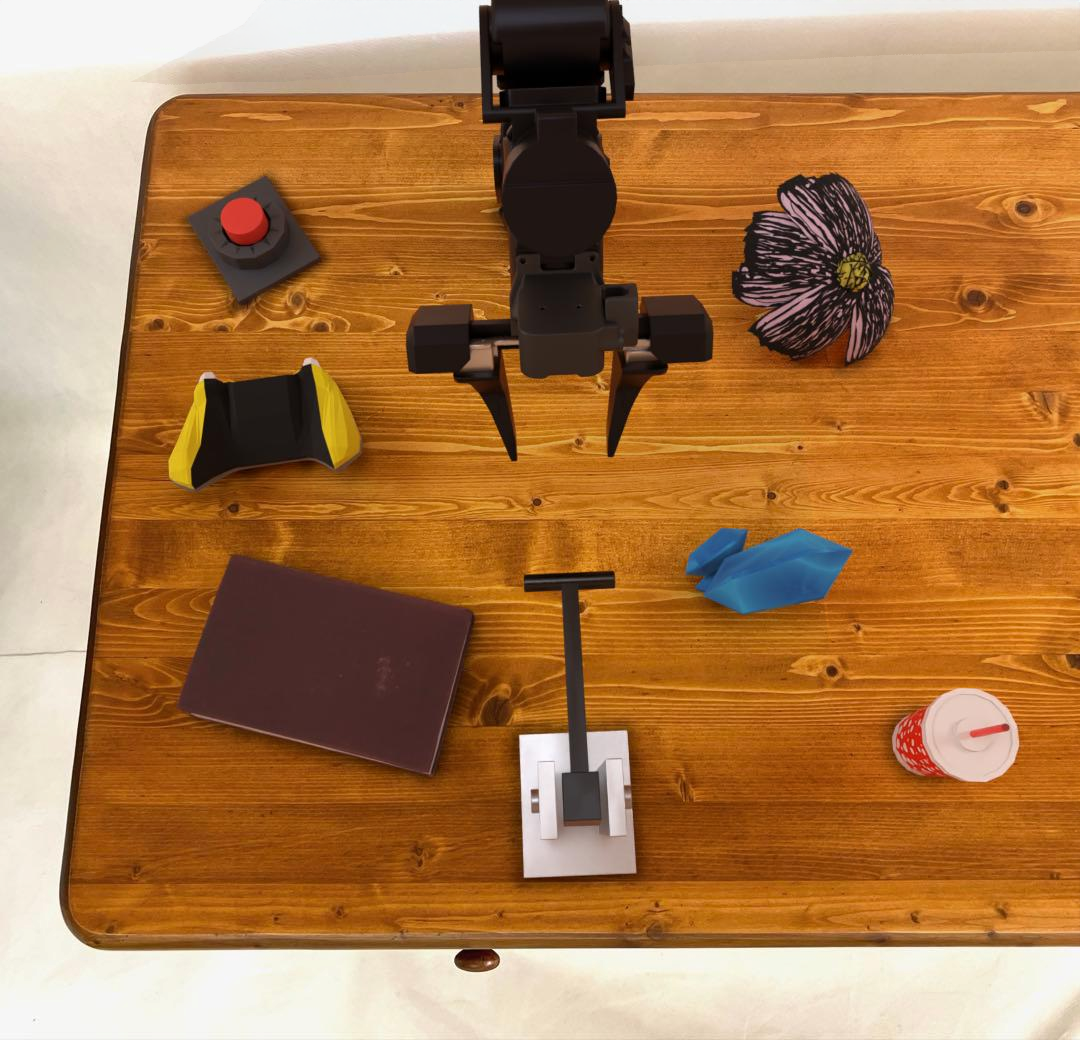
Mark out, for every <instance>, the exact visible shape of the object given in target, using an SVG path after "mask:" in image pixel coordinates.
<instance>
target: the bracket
mask: <svg viewBox="0 0 1080 1040" xmlns="http://www.w3.org/2000/svg"><path fill="white" fill-rule="evenodd" d="M628 735H629V734H628V730H627V729H618V730H617V729H616V730H598V731H597V730H596V731H595V730H592V731H587V747H588V764H589V772H591V771H598V772H599V786H600V802H601V818H602V819H601V823H600V825H595V826H571V827H564V819H563V798H562V773H567V772H570V754H569V734H568V732H546V733H545V732H544V733H526V734H525V733H524V734H522V733H521V734H519V735H518V737H519V742H518V745H519V771H520V772H519V773H520V797H521V798H520V800H521V801H520V802H521V803H520V804H521V828H522V829H521V831H522V832H521V833H522V859H523V860H522V862H523V878H524V879H534V878H535V879H536V878H558V877H581V876H583V877H585V876H586V877H587V876H606V875H609V876H610V875H630V874H632V875H633V874H637V859H636V847H635V846H636V845H635V830H634V829H635V828H634V813H633V793H632V784H631V783H632V782H631V767H630V766H631V765H630V753H629V751H630V750H629V736H628Z"/></svg>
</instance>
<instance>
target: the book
mask: <svg viewBox="0 0 1080 1040" xmlns="http://www.w3.org/2000/svg"><path fill="white" fill-rule="evenodd" d="M475 618H476V617H475V613H474V611H473V610H471V609H469V608H466V607H461V606H457V605H454V604H453V605H452V604H447V603H445V602H439V601H436V600H432V599H427V598H422V597H417V596H413V595H408V594H404V593H400V592H395V591H391V590H386V589H381V588H378V587H374V586H370V585H366V584H361V583H357V582H353V581H348V580H344V579H341V578H335V577H331V576H328V575H323V574H319V573H316V572H315V573H314V572H310V571H306V570H302V569H299V568H294V567H290V566H285V565H283V564H282V565H281V564H278V563H273V562H271V561H270V562H269V561H265V560H261V559H257V558H253V557H249V556H245V555H241V554H238V553H237V554H236V553H232V555H230V558H229V560H228V563H227V566H226V568H225V570H224V573H223V575H222V579H221V581H220V583H219V587H218V589H217V592H216V594H215V597H214V599H213V602H212V604H211V608H210V610H209V612H208V615H207V618H206V621H205V624H204V626H203V630H202V632H201V635H200V637H199V641H198V643H197V644H196V648H195V651H194V654H193V656H192V660H191V662H190V664H189V668H188V671H187V674H186V677H185V680H184V683H183V686H182V689H181V691H180V694H179V697H178V701H177V704H176V706H175V707H176V709H178V710H180V711H181V712H185V713H187V714H188V715H189V716H190V717H193V718H197V719H200V720H202V721H208V722H211V723H215V724H220V725H226V726H229V727H232V728H238V729H242V730H246V731H248V732H253V733H257V734H261V735H266V736H271V737H274V738H277V739H282V740H286V741H289V742H293V743H298V744H303V745H306V746H307V745H308V746H311V747H314V748H318V749H321V750H325V751H330V752H335V753H338V754H341V755H347V756H351V757H354V758H359V759H362V760H365V761H366V760H367V761H371V762H373V763H374V762H375V763H379V764H382V765H386V766H389V767H394V768H397V769H402V770H406V771H408V772H414V773H416V774H420V775H423V776H427V777H434V775H435V772H436V769H437V766H438V762H439V760H440V759H439V758H440V756H441V751H442V747H443V743H444V739H445V736H446V733H447V729H448V725H449V721H450V717H451V714H452V710H453V707H454V701H455V698H456V694H457V691H458V687H459V683H460V678H461V675H462V671H463V668H464V663H465V660H466V656H467V651H468V647H469V644H470V638H471V635H472V631H473V627H474V624H475V620H476V619H475Z"/></svg>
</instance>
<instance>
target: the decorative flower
mask: <svg viewBox="0 0 1080 1040" xmlns="http://www.w3.org/2000/svg"><path fill="white" fill-rule="evenodd" d="M828 172H829V173H827V174H821V175H820V176H819V177H817V176H815V175H811V176H804V175H803V174H802V173H799V174H796V175H794V176H793V177H791V178H788V179H786V180H785V181H784V182H783V183H781V184H779V185H777V186H778V187H777V188H776V198H777V201H778V203H779V205H780V208H781V209H782V210H783V211H779V210H768V209H767V210H766V209H765V210H758V211H752V216H751V219H752V221H751V222H750V223H749V224H748V225H747V226H746V227H745V228H743V231H744V232H745V233H746V234H745V235H744V237H743V239H742V242H744V243H745V244H744V249H743V258H744V262H742V261H741V262H740V264H739V267H738V269H736V270H731V289H732V290H731V294H732V295H733V298H735V299H736V300H738V301H739V302H741V303H743V304H744V305H746V306H750V307H754V308H760V309H765V310H769V311H768V312H766V313H765V314H764V315H762V316H760V317H759V318H758V319H757V320H756V321H754V322H753V323H752V325H751V326H750V327H749V328H748V329H747V332H749V333H751V334H752V336H753V337H756V338H757V339H758V342H759V347H766V348H767V350H768V351H769V352H773V351H774V352H776V353H778V354H779V355H781V356H787V357H786V358H788V360H787V361H786V362H798V361H801V360H805V359H808V358H810V357H812V356H815V355H816V354H819V353H820V352H822V351H824V350H826V349H827V348H829V347H830V346H832V345H833V344H834V343H836V342H837V341H838V340H840V339H842V337H843V336H844V335H845V334H846V333H847V331H848V337H847V343H846V349H845V353H844V354H845V355H844V357H843V364H844V365H843V366H844V368H847V367H849V366H850V365H853V364H855V363H856V362H858V361H862V360H864V359H865V358H866V357H867V356H868V355H870V354H871V353H872V352H873V351H874V349H875V348H876V347H877V346H878V344H880V342H881V341H882V340H883V337H884V336H885V334H886V332H887V330H888V328H889V325H890V322H891V321H892V317H893V312H894V305H895V303H894V302H895V286H894V281H893V277H892V273H891V271H890V270H889V269H888V268H887V267H886V266H883V265H882V264H883V250H882V246H881V245H882V244H881V241H880V239H879V236H878V234H877V232H876V230H875V226H874V222H873V218H872V214H871V212H870V210H869V208H868V205H867V203H866V202H865V200H864V199H863V197H862V195H861V194H860V193H859V191H858V190H857V189H856V188H855V186H854V185H853V183H851V182H850V181H849V180H848V179H847V178H846V177H845V176H842V175H840V174H839V173H837V171H834V172H831V171H828Z"/></svg>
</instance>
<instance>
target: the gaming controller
mask: <svg viewBox="0 0 1080 1040" xmlns="http://www.w3.org/2000/svg"><path fill="white" fill-rule="evenodd" d="M363 441H364V440H363V437H362V434H361V432H360V429H359V426H358V425H357V422H356V420H355V417H354V414H353V412H352V410H351V408H350V406H349V405H348V403H347V401H346V399H345V397H344V396H343V393H342V392H341V390H340V388H339V385H338V384H337V383H336V382H335V380H334V379H333V378H332V376H331V375H330V373H328V372H327V371H326V370H325V369H323V368H322V367H321V365H320V363H319V361H318V360H317V359H315V358H313V357H311V356H310V357H307V358H304V361H303V363H302V366H301V368H300V369H297V370H296V371H295V372H293V373H292V374H291V373H290V374H281V375H274V376H265V377H259V378H253V379H245V380H238V381H235V380H232V379H226V380H224V381H222V380H220V379H219V378H218V377H217V376H216V375H215V374H214V372H212V371H204V372H203V373H202V374H201V375H200V377H199V380H198V383H197V384H196V386H195V388H194V391H193V403H192V405H191V407H190V408H189V412H188V413H187V416H186V419H185V421H184V424H183V426H182V428H181V432H180V434H179V436H178V439H177V441H176V442H175V446H174V448H173V450H172V452H171V454H170V456H169V458H168V460H167V461H168V478H169V479H170V482H172V483H173V484H175V485H176V486H177V487H179V488H182V489H184V490H185V491H187V492H191V493H199V492H201V491H203V490H204V489H206V488H208V487H209V486H211V485H212V484H214V483H216V482H218V481H219V480H221V479H223V478H225V477H226V476H229V475H230V474H232V473H236V472H238V471H242V470H249V469H255V468H260V467H268V466H269V467H270V466H275V465H283V464H290V463H296V462H305V461H314V462H317V463H318V464H321V465H323V466H325V467H326V468H329V469H330V470H332V471H334V472H335V473H339V472H342V471H343V470H345V469H347V468H348V467H349V466H350V465H351V464H352V463H353V462H354V461H355V460H357V459H358V458H359V457H360V456H361V455H362V454H363V445H364V443H363Z"/></svg>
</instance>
